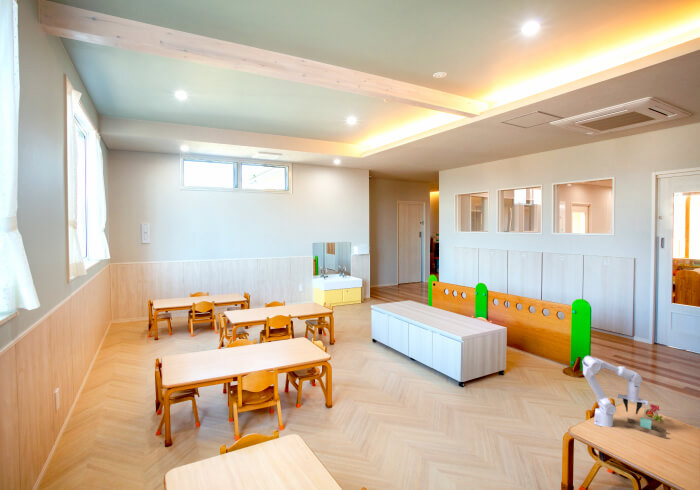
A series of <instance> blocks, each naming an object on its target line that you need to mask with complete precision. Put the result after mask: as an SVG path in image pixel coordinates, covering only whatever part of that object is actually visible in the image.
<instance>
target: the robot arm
mask: <svg viewBox="0 0 700 490" xmlns="http://www.w3.org/2000/svg"><path fill="white" fill-rule="evenodd" d="M581 362H582V374H583V376H584V378H585V379H586V381H587V383H588V385H589V386H590V388H591V390H592V391H593V393H594V395H595V396H596V397H595V399H596V401H597V405H598V406H599V407H598V408H595V409H594V410H595V411H594V417H593V418H594V422H593V424H594V425H596V426H599V427H605V428H606V427H607V428H611V427H613V425H614V414H615V413H616V412H617V408H616V406H615V405H614V404H613V403H612V402H611V401H610V399H609V398H608V397H607V395H606V394H605V392H604V390H603V389H602V386H601V385H600V383H599V382H598V380H597V378H596V377H595V375H596V374H597V373H599V372H600V370H601V371H602V370H603V369H606V370H609V371H612V372H615V374H616V376H619V377H621V378H624V379H626V380H627V390H626V391H627V392H626V394H621V393H620V394H619V393H618V394H617V398H618V399H622V402H623V405H624V408H625V410H626V412H627V413H628V411H629V409H628V408H629V407H628V405H629V402H633V403H636V409H635V415H638V413H639V411H640V409H641V408H642V407H643V405H645V406H648V405H649V401H648V400H645V399H642V398H640V385H641V383H643V378H642V376H641V375H640V374H639V373H638V372H636V371H634V370H632V369H629V368H627V367H626V366H624V365H623V366H620V365H619V366H616V365H614V364H611V363H609V362H608V361H605V360H603V359H600V358H598V357H595V356H591V355H586V356H584V358H583V359H582V361H581Z"/></svg>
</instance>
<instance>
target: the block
mask: <svg viewBox="0 0 700 490" xmlns="http://www.w3.org/2000/svg"><path fill="white" fill-rule="evenodd" d="M639 421H640V426H641V427H644V428H648V429H651V425H652V421H653V420H651V419H648V418H647V417H640V420H639Z"/></svg>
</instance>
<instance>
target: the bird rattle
mask: <svg viewBox="0 0 700 490" xmlns="http://www.w3.org/2000/svg"><path fill="white" fill-rule="evenodd" d="M649 406H650V407H646V408H645V409H644V410H643V414H644V416H645V418H646V419H649V420H652V421H655V420H656V421H657V422H658V423H661V422H662V421H661V419H663V418H664V417H663V416H661V415H659V411H660V406H659V405H655V404H652V403H650V404H649Z"/></svg>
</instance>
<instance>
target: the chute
mask: <svg viewBox="0 0 700 490" xmlns="http://www.w3.org/2000/svg"><path fill="white" fill-rule="evenodd" d="M640 421H641V420H636V419H634V418H629V417H627V422H626V423H625V424H626V425H625V426H626V428H629V429H632V430H636V431H639V432H642V433H645V434H648V435H650V436H651V435H652V436H655V437H657V438H662V439H665V440H666V439H667V429H666V428H663V427H660V426H657V425H653V424H651V429H648V428H644V427H641V426H640Z"/></svg>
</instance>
